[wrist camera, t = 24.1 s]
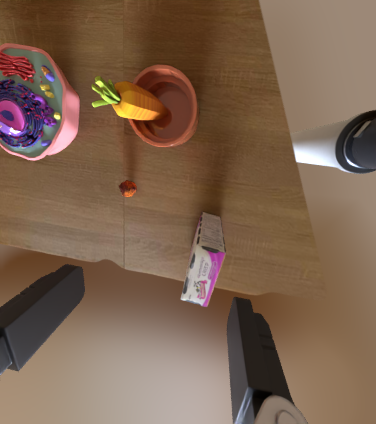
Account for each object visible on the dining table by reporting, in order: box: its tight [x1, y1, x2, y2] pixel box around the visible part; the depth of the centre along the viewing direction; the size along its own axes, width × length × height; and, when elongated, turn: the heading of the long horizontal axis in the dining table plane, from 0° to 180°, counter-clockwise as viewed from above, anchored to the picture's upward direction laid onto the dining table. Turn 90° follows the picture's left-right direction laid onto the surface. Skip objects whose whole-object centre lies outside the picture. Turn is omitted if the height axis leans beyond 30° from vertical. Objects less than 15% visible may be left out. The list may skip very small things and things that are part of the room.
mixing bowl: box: [129, 64, 200, 147], centre depth 34 cm, size 12×12×6 cm
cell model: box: [0, 43, 80, 160], centre depth 35 cm, size 17×20×11 cm
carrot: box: [92, 76, 168, 120], centre depth 30 cm, size 5×5×15 cm
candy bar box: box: [181, 212, 226, 307], centre depth 36 cm, size 11×5×16 cm, turn 167°
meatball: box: [119, 180, 137, 197], centre depth 41 cm, size 4×4×4 cm
